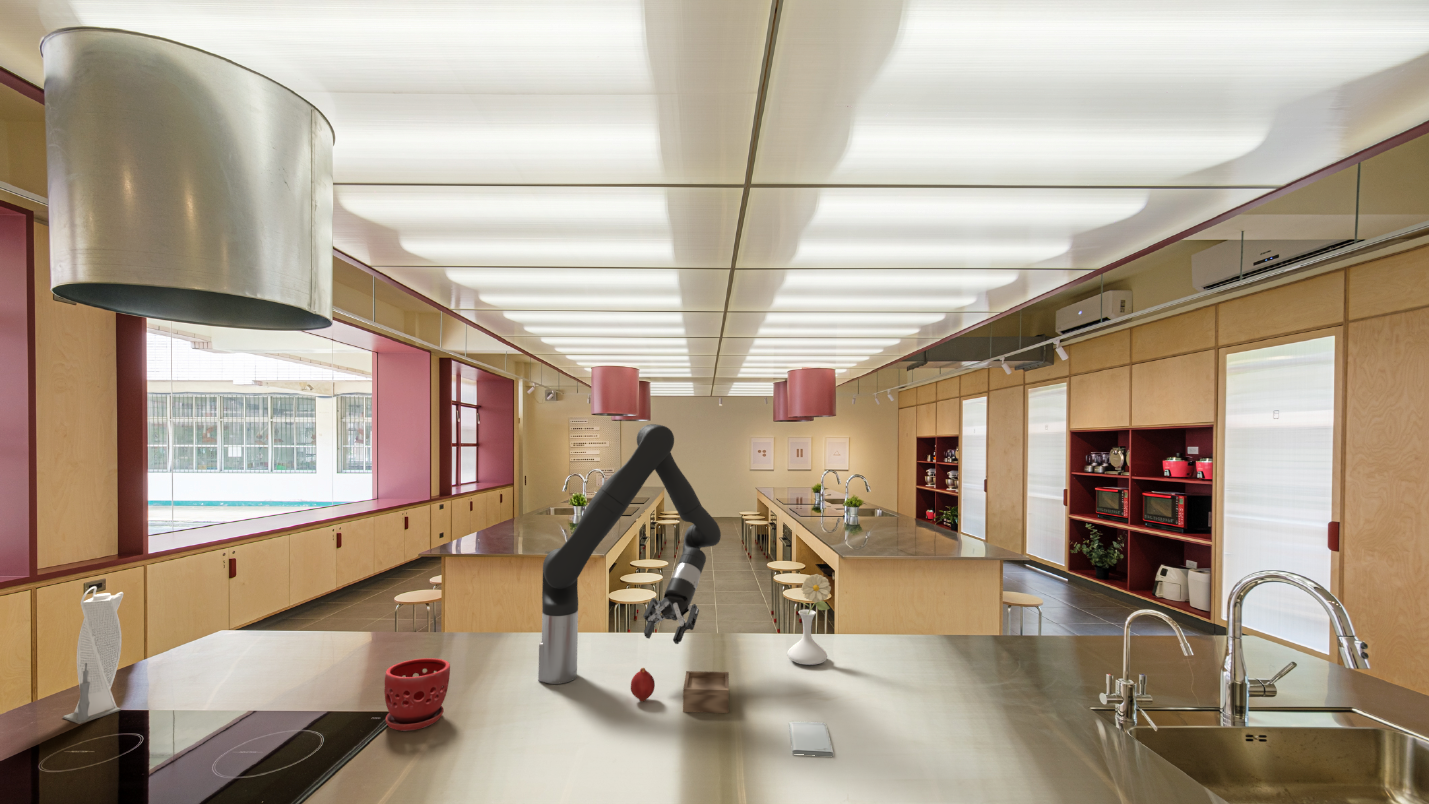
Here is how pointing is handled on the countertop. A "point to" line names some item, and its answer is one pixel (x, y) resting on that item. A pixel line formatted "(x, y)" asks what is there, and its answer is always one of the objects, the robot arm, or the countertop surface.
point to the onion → (642, 685)
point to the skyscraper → (97, 656)
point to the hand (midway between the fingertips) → (660, 639)
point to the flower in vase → (807, 648)
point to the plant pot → (415, 693)
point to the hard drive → (810, 738)
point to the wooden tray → (706, 692)
